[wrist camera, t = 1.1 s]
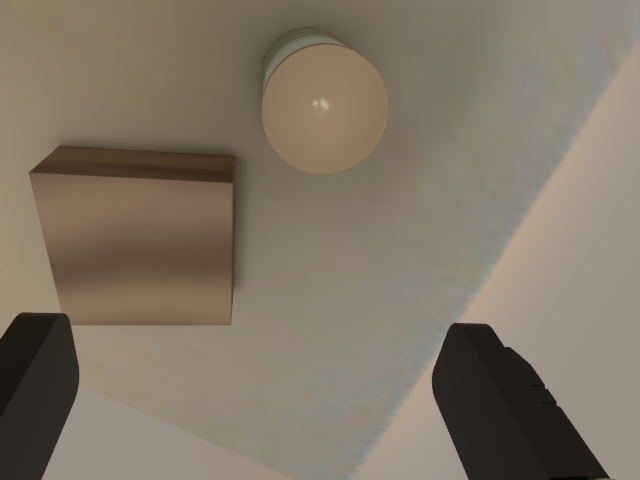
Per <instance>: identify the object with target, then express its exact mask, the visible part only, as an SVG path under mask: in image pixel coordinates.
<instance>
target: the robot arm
mask: <svg viewBox="0 0 640 480" xmlns="http://www.w3.org/2000/svg"><path fill="white" fill-rule="evenodd" d="M78 385H79V366H78V360H77V355H76V350H75V345H74V340H73V335H72V329H71V324H70V320H69V317H68V316H67V315H66V314H64V313H25V312H23V313H20V314H19V315H17V316H16V318H15V319H14V320H13V322H12V323H11V325H10V326H9V327H8V329H7V330H6V332H5V333H4V335H3V336H2V338H1V339H0V480H41V479H42V477H43V474H44V472H45V470H46V467H47V465H48V463H49V460H50V458H51V455H52V453H53V450H54V448H55V446H56V444H57V441H58V439H59V436H60V434H61V432H62V429H63V427H64V425H65V422H66V420H67V417H68V415H69V412H70V410H71V408H72V405H73V403H74V401H75V398H76V394H77V390H78ZM432 388H433V394H434V397H435V400H436V403H437V405H438V407H439V410H440V412H441V414H442V417H443V419H444V422H445V424H446V426H447V429H448V431H449V434H450V436H451V438H452V441H453V443H454V446H455V448H456V450H457V453H458V455H459V458H460V460H461V462H462V465H463V467H464V470H465V472H466V474H467V477H468V479H469V480H614V479H610V477H609V476H608V475H607V474H606V472H605V471H604V469H603V468H602V466H601V465H600V463H599V462H598V461H597V459H596V458H595V456H594V455H593V453H592V452H591V450H590V449H589V448H588V446H587V445H586V443H585V442H584V440H583V439H582V438H581V436H580V435H579V433H578V432H577V430H576V429H575V428H574V426H573V425H572V423H571V422H570V420H569V419H568V418H567V416H566V415H565V413H564V412H563V410H562V409H561V408H560V407H558V406H557V404H556V403H557V402H556V400H555V399H554V398H553V396H552V395H551V393H550V392H549V391H548V389H545V385H544V383H543V382H542V380H541V379H540V377H539V376H538V374H537V373H536V372H535V370H534V369H533V367H532V366H531V365H530V364H529V363H528V362H527V361H526V360H525V359H523V358H522V357H521V356H520V355H519V354H518V353H516V352H515V351H514V350H513V349H512V348H510V347H504V346H503V344H502V342H501V341H500V340H499V338H498V337H497V335H496V333H495V332H494V331H493V329H492V328H491V327H490V326H489V325H487V324H474V323H471V324H470V323H454V324H452V325H451V326H450V327H449V329H448V332H447V335H446V337H445V340H444V343H443V345H442V348H441V351H440V353H439V356H438V359H437V361H436V365H435V367H434V370H433V374H432Z"/></svg>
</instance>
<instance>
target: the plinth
mask: <svg viewBox="0 0 640 480" xmlns="http://www.w3.org/2000/svg"><path fill="white" fill-rule="evenodd" d="M235 160H236V157H229V156H212V155H196V154H180V153H163V152H147V151H131V150H114V149H98V148H82V147H65V146H59V147H58V148H56V149H55V150H54V151H53V152H52V153H51V154H50V155H48V156H47V157H46V158H45V159H44V160H43V161H42V162H40V163H39V164H38V165H37V166H36V167H35V168H34V169H32V170H31V171H30V172H29V176H30V180H31V184H32V188H33V193H34V197H35V201H36V205H37V210H38V214H39V218H40V222H41V227H42V231H43V235H44V239H45V244H46V248H47V252H48V256H49V261H50V265H51V269H52V273H53V278H54V282H55V286H56V290H57V295H58V299H59V303H60V307H61V312H62V313H64V314H66V315H67V316H68V317H69V320H70V324H71V325H231V317H232V303H233V289H234V227H235Z"/></svg>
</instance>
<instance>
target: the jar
mask: <svg viewBox="0 0 640 480" xmlns="http://www.w3.org/2000/svg"><path fill="white" fill-rule="evenodd" d="M262 84H263V97H262V121H263V127H264V131H265V134H266V137H267V139H268V141H269V143H270V145H271V146H272V148H273V149H274V151H275V152H276V153H277V154H278V155H279V156H280V157H281V158H282V159H283V160H284V161H285V162H286V163H288V164H289V165H291V166H293V167H294V168H296V169H298V170H301V171H304V172H307V173H311V174H319V175H323V174H335V173H339V172H342V171H345V170H348V169H350V168H352V167H354V166H356V165H357V164H359V163H360V162H362V161H363V160H364V159H365V158H366V157H368V156H369V155H370V154H371V152H372V151H373V150H374V149H375V148H376V146H377V145H378V143H379V142H380V140H381V138H382V136H383V134H384V131H385V129H386V125H387V121H388V115H389V100H388V94H387V90H386V87H385V84H384V82H383V79H382V78H381V76H380V74H379V73H378V71H377V70H376V69H375V67H374V66H373V65H372V64H371V63H370V62H369V61H368V60H367V59H366V58H364V57H363V56H362V55H360V54H359V53H357V52H356V51H354V50H352V49H350V48H348V47H347V46H345V45H344V44H343V43H342V42H340V41H339V40H338V39H337V38H336V37H334V36H333V35H331V34H330V33H328V32H326V31H323V30H320V29H317V28H299V29H295V30H292V31H290V32H288V33H286V34H284V35H283V36H281V37H280V38H279V39H278V40H277V41H276V42H275V43H274V44H273V45H272V47H271V48H270V50H269V51H268V53H267V55H266V58H265V60H264V64H263V70H262Z"/></svg>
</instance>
